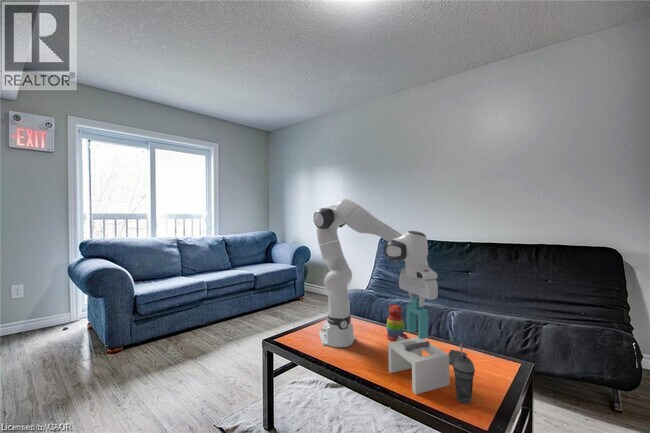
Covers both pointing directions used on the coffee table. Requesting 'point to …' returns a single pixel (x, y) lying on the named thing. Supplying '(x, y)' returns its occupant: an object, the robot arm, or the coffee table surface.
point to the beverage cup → (463, 378)
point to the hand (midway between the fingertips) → (416, 304)
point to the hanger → (422, 318)
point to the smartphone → (454, 355)
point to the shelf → (420, 363)
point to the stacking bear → (395, 324)
